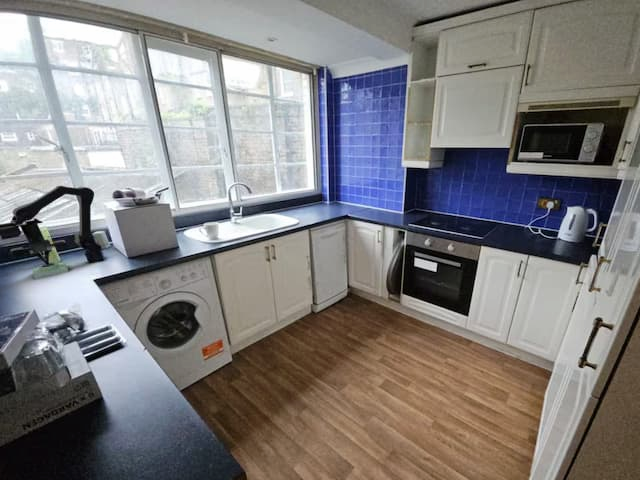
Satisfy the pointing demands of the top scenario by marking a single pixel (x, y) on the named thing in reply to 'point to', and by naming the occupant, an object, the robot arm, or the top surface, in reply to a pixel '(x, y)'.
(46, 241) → the robot arm
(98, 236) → the cosmetics bottle
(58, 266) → the dispenser
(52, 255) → the tube
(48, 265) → the pump head
